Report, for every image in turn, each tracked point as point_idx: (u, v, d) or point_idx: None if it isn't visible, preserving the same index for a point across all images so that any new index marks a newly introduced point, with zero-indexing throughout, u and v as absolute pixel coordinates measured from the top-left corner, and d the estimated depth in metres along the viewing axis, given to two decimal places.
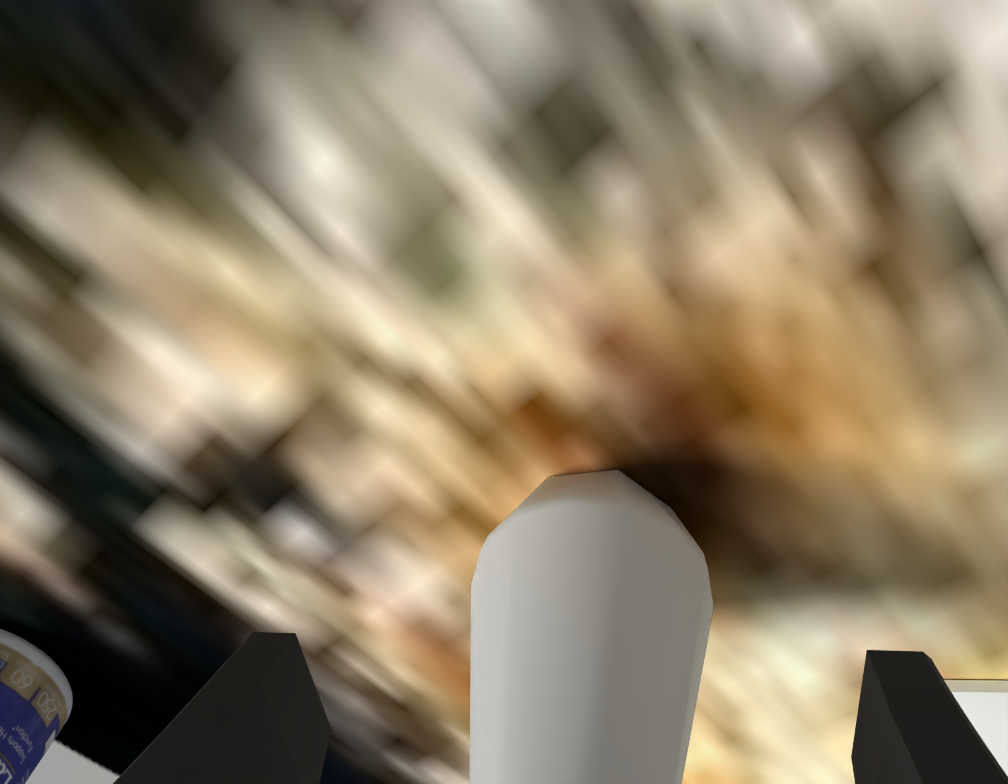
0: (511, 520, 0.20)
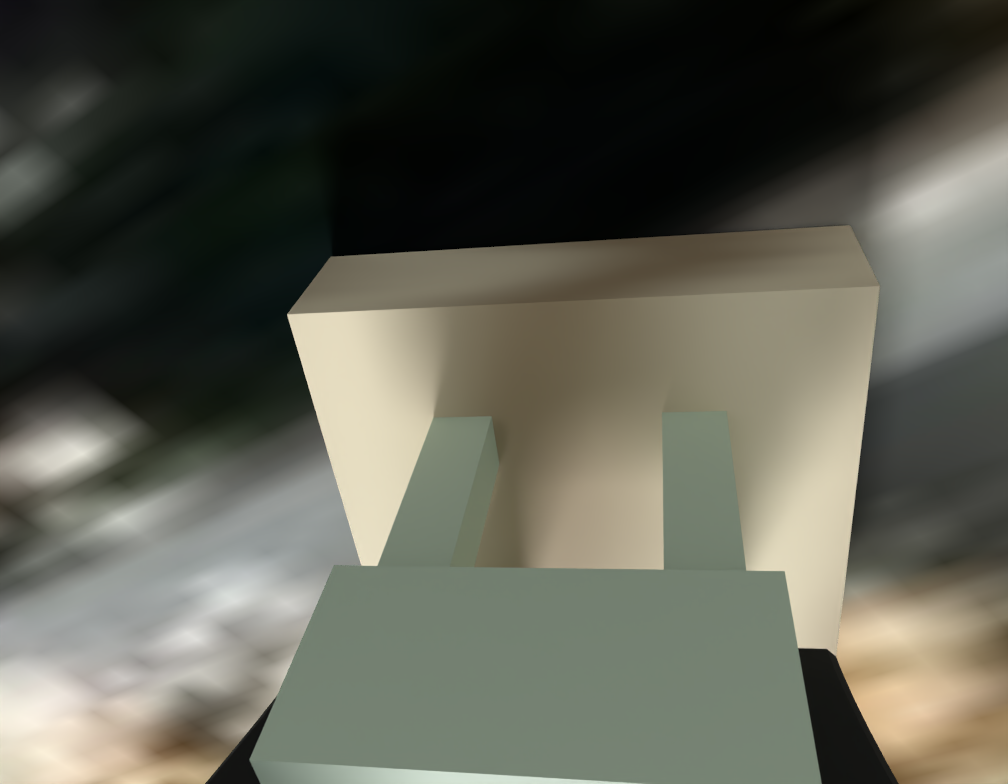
0: None
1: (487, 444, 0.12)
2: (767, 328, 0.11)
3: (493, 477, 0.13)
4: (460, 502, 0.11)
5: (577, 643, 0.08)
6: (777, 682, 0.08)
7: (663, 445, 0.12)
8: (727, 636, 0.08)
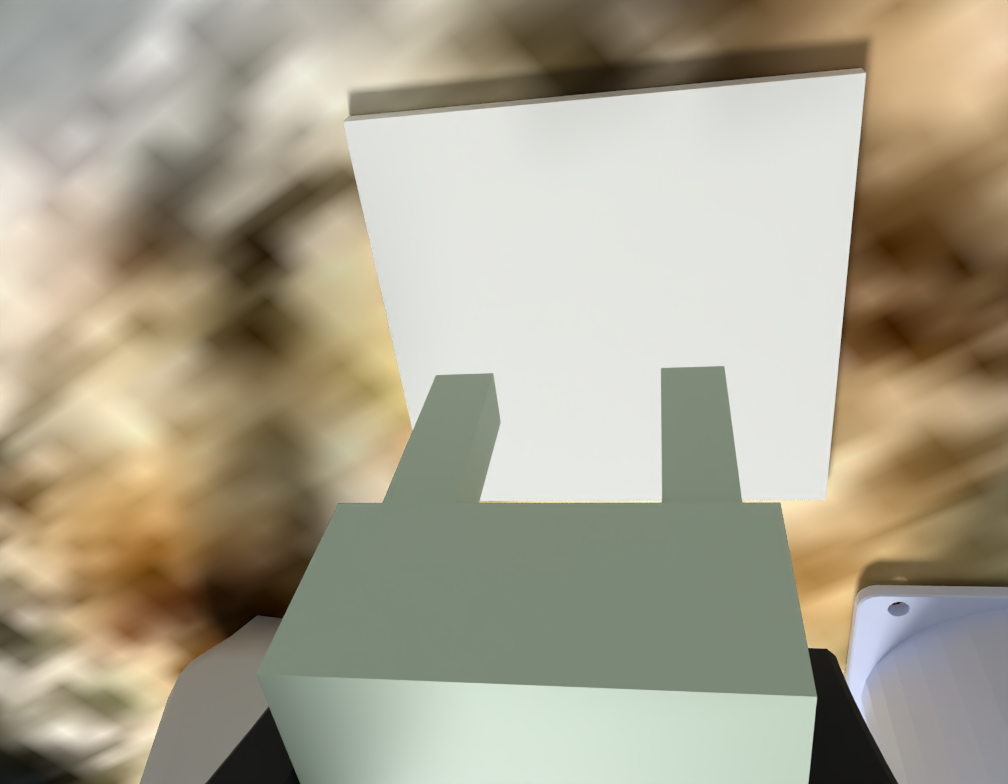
0: None
1: (489, 399, 0.13)
2: None
3: (494, 433, 0.13)
4: (462, 449, 0.11)
5: (577, 568, 0.09)
6: (772, 599, 0.08)
7: (662, 397, 0.12)
8: (724, 560, 0.08)
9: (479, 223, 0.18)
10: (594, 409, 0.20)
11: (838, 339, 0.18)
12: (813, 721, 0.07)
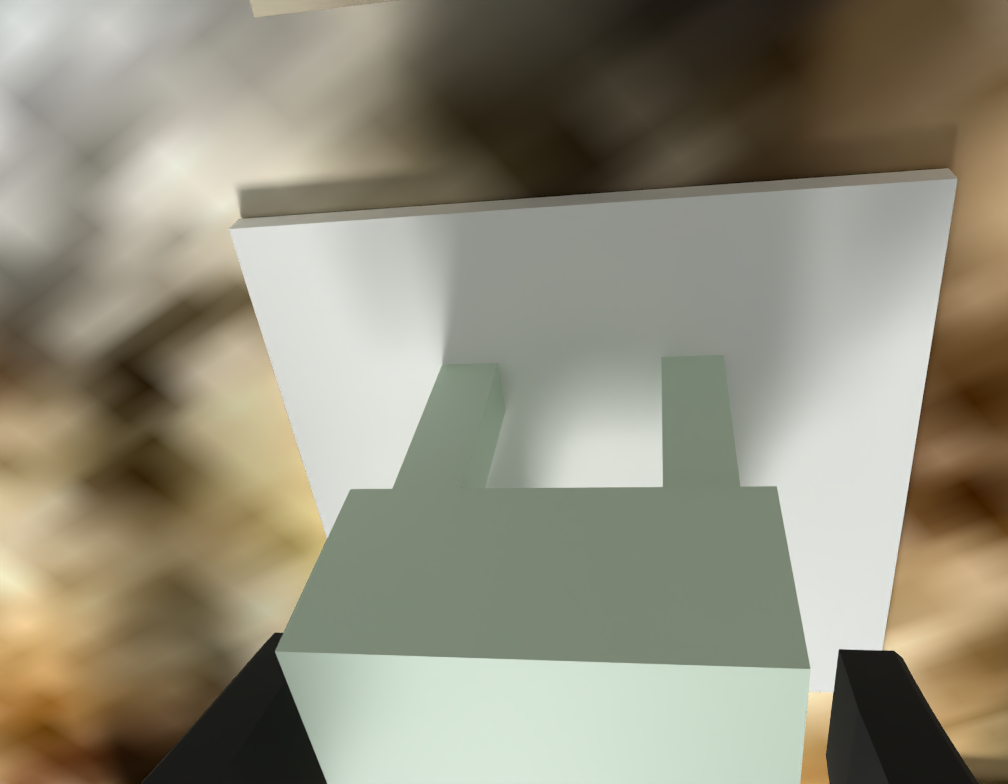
0: None
1: (494, 388, 0.13)
2: None
3: (499, 421, 0.13)
4: (469, 437, 0.12)
5: (581, 550, 0.09)
6: (768, 578, 0.08)
7: (662, 385, 0.12)
8: (722, 541, 0.09)
9: (418, 360, 0.13)
10: None
11: (901, 513, 0.14)
12: (807, 694, 0.08)
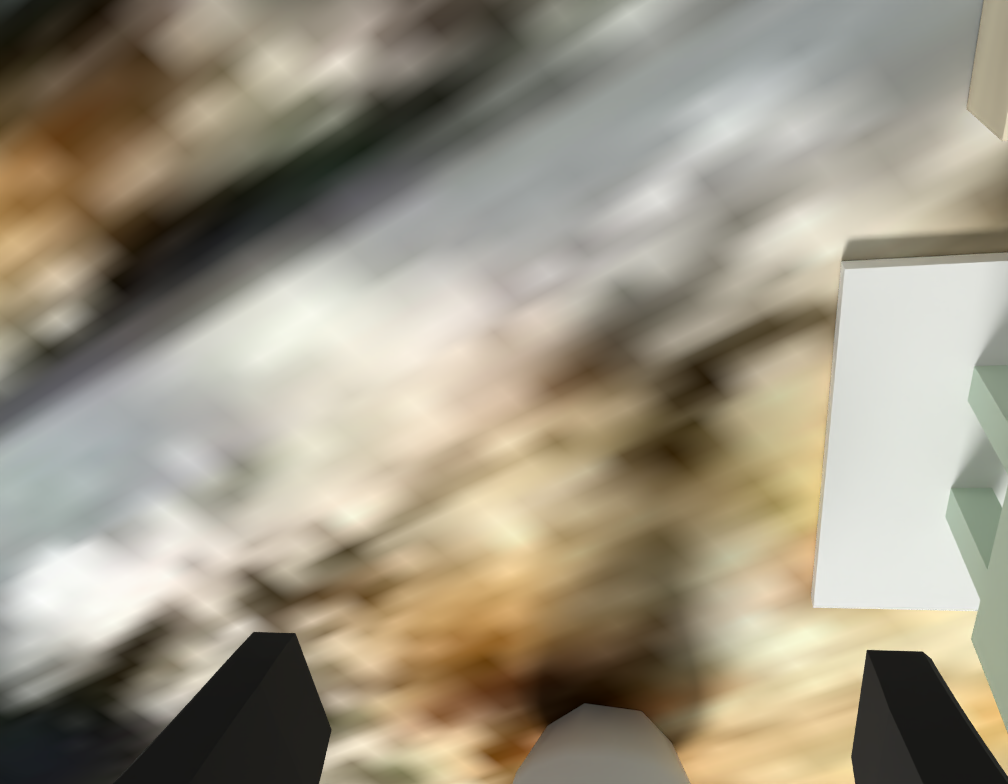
0: None
1: None
2: None
3: None
4: None
5: None
6: None
7: None
8: None
9: (957, 362, 0.19)
10: None
11: None
12: None
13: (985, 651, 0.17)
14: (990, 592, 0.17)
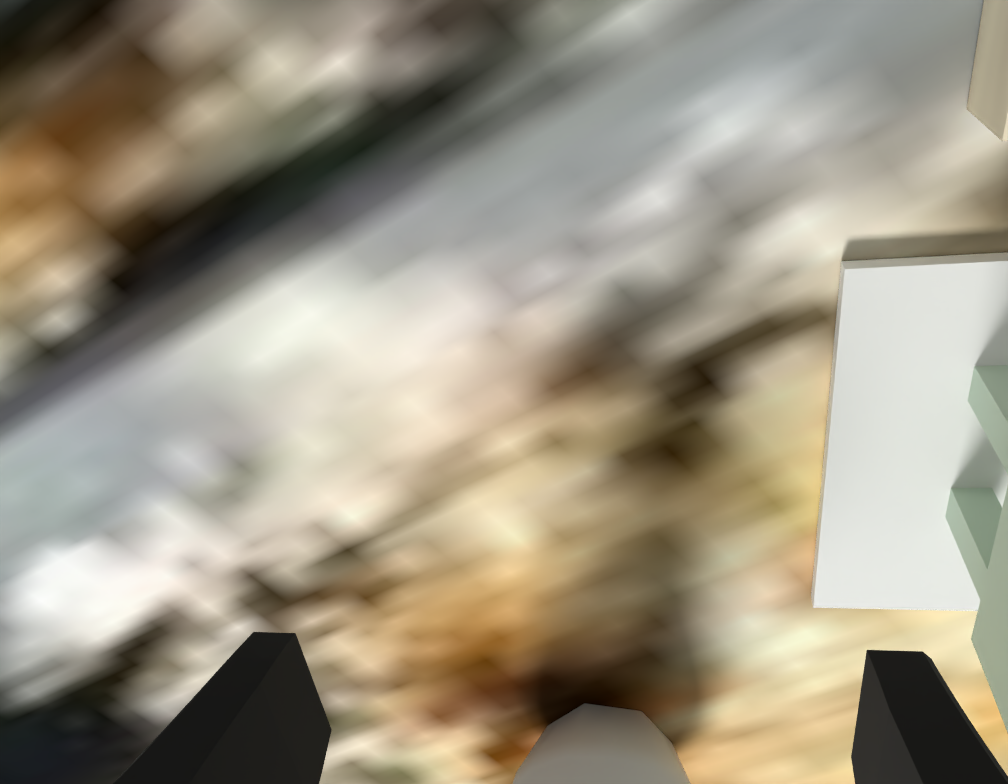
0: None
1: None
2: None
3: None
4: None
5: None
6: None
7: None
8: None
9: (957, 362, 0.19)
10: None
11: None
12: None
13: (985, 651, 0.17)
14: (990, 592, 0.17)
